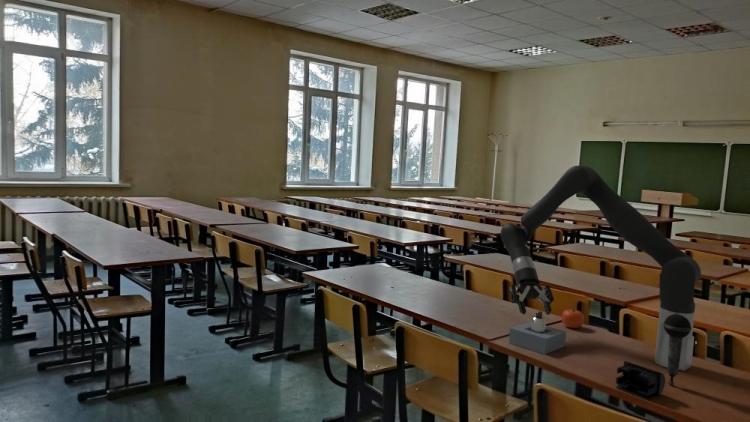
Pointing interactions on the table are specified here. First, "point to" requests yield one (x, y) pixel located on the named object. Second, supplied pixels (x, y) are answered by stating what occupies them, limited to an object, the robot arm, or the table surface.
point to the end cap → (640, 381)
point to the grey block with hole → (537, 338)
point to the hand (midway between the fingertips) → (536, 313)
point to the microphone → (675, 341)
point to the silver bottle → (538, 323)
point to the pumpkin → (572, 318)
